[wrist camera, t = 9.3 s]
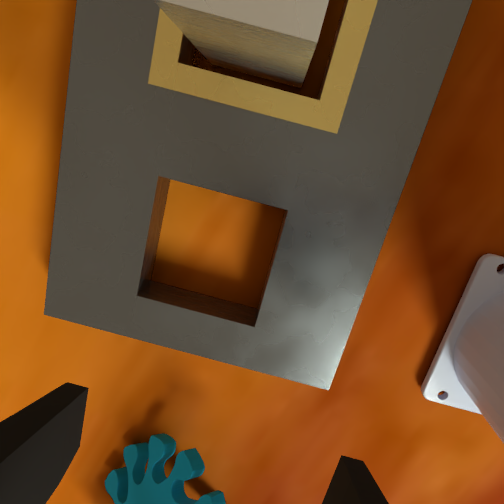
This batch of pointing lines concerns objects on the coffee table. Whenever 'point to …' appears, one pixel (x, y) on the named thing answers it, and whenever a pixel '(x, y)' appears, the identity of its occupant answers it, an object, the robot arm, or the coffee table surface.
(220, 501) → the teal lobed piece
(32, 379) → the coffee table surface
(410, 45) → the hole plate
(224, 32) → the steel peg
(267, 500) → the coffee table surface
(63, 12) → the coffee table surface
